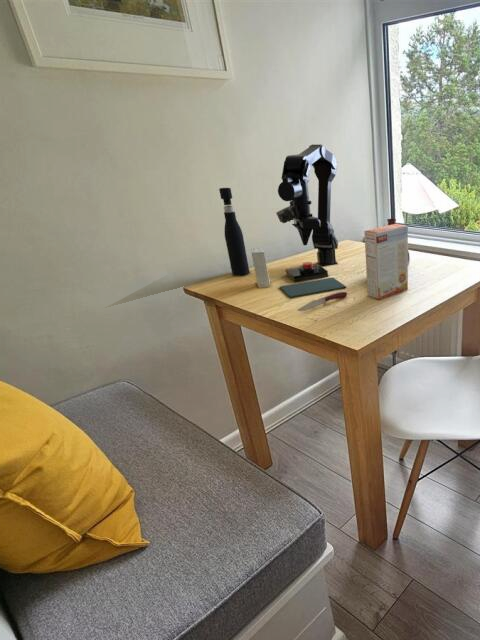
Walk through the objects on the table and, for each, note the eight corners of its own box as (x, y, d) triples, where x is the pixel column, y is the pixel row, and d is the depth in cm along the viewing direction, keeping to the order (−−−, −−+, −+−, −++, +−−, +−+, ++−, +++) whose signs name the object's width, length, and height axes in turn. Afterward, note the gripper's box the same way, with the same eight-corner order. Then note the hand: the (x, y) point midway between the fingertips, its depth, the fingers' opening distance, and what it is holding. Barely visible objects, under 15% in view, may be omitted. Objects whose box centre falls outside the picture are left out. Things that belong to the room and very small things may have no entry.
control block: (318, 270, 166) (317, 259, 163) (328, 277, 157) (328, 266, 155) (286, 275, 160) (284, 264, 158) (295, 282, 152) (293, 271, 150)
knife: (345, 297, 139) (344, 288, 138) (348, 298, 139) (347, 289, 137) (296, 315, 126) (295, 305, 125) (299, 316, 126) (297, 306, 124)
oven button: (311, 266, 157) (310, 261, 157) (314, 268, 155) (314, 263, 154) (302, 267, 156) (301, 262, 155) (305, 269, 153) (304, 265, 152)
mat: (333, 279, 156) (332, 277, 155) (346, 288, 146) (346, 286, 146) (279, 288, 148) (279, 286, 147) (290, 298, 139) (290, 296, 138)
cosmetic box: (270, 286, 149) (265, 251, 143) (257, 288, 148) (251, 253, 141) (269, 281, 154) (264, 247, 148) (256, 282, 153) (250, 248, 147)
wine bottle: (234, 277, 159) (216, 190, 144) (231, 272, 164) (213, 188, 148) (251, 274, 162) (236, 188, 146) (247, 270, 167) (232, 186, 151)
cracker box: (395, 285, 148) (395, 222, 137) (408, 289, 144) (409, 225, 133) (366, 295, 139) (363, 229, 129) (378, 300, 136) (377, 232, 125)
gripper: (269, 196, 147) (275, 242, 155) (285, 202, 133) (291, 253, 141) (299, 194, 152) (304, 239, 159) (319, 199, 137) (323, 249, 145)
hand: (305, 245), depth 151 cm, fingers closed
